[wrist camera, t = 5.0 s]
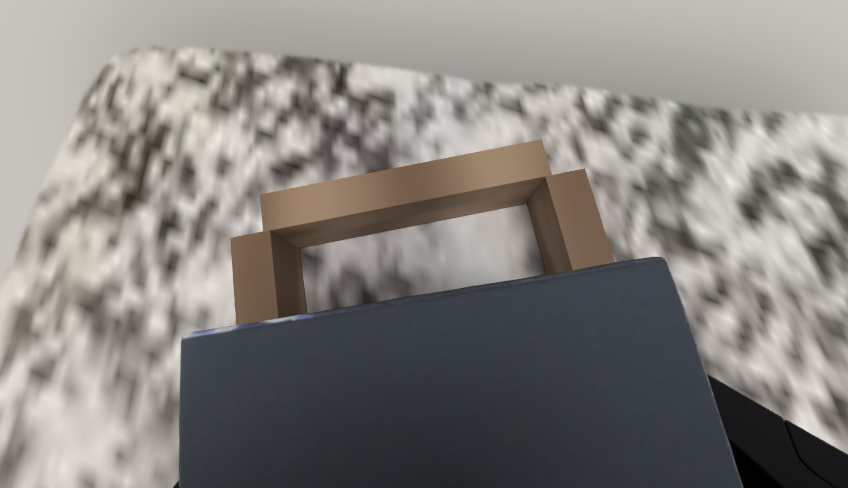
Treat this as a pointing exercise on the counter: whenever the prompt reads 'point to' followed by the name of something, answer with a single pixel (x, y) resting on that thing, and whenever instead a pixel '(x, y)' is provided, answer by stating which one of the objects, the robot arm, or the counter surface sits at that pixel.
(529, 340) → the box
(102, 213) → the counter surface
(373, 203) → the brown u-shaped bracket
